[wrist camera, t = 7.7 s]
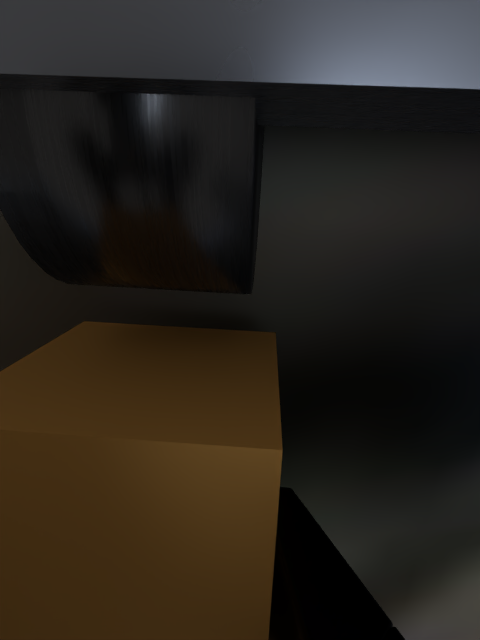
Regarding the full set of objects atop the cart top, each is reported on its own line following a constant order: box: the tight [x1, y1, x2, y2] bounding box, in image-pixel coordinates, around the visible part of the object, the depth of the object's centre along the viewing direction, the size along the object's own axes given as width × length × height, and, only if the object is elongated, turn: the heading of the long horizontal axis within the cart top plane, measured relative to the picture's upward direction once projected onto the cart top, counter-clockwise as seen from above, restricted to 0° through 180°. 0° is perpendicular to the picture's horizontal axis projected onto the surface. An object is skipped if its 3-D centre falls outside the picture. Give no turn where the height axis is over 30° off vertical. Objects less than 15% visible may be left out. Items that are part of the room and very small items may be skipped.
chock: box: [0, 321, 283, 640], centre depth 8 cm, size 6×4×4 cm, turn 177°
